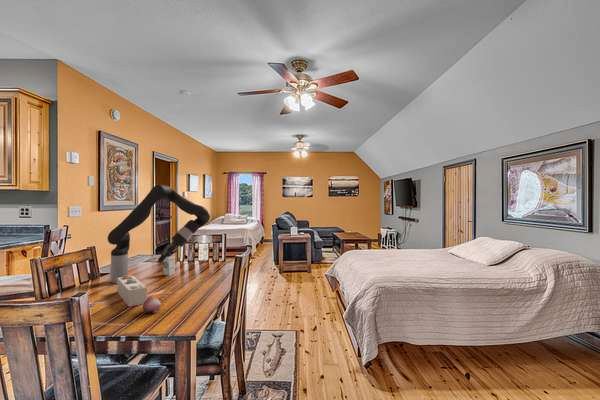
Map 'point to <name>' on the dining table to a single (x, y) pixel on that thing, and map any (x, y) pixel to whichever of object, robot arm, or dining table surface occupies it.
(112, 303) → the dining table surface
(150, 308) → the onion
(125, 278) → the terracotta button
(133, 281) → the slate button
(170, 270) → the syrup box
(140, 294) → the block
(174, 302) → the dining table surface
